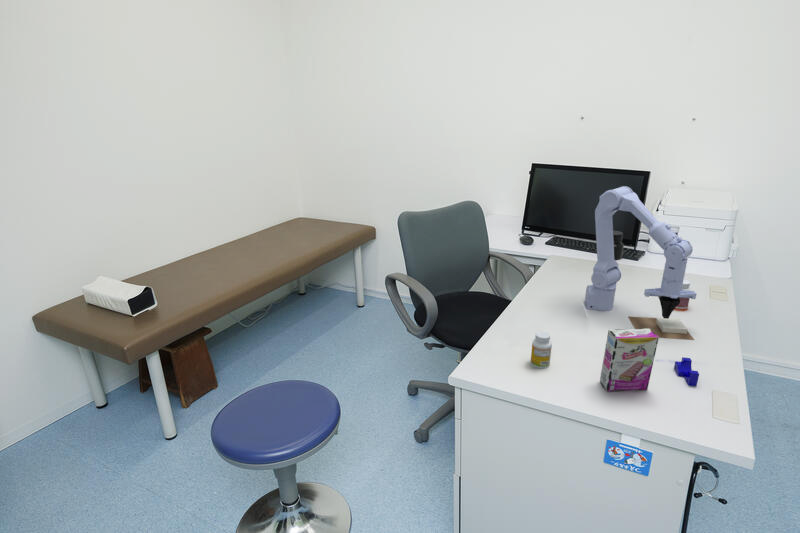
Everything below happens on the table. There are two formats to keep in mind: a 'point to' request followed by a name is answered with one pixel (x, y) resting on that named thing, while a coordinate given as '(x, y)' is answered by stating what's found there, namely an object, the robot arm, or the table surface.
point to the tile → (671, 325)
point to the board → (656, 328)
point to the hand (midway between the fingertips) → (665, 317)
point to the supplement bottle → (541, 350)
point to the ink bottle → (618, 244)
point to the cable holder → (686, 371)
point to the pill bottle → (684, 301)
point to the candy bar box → (628, 359)
